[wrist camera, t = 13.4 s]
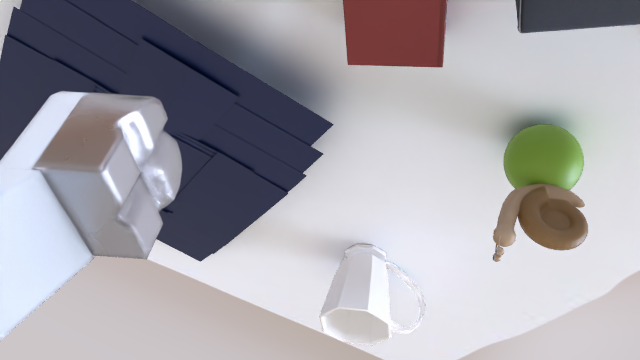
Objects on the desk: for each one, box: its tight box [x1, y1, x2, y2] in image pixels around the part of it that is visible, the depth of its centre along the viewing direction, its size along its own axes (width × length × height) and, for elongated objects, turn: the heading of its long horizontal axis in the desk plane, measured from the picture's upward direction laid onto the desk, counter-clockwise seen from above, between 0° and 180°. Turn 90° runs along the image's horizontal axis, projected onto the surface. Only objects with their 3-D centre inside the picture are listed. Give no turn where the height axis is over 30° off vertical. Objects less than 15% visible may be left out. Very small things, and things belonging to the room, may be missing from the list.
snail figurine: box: [493, 124, 588, 262], centre depth 41 cm, size 5×6×12 cm
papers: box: [0, 0, 334, 262], centre depth 51 cm, size 24×30×4 cm
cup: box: [319, 244, 425, 346], centre depth 58 cm, size 7×10×8 cm
